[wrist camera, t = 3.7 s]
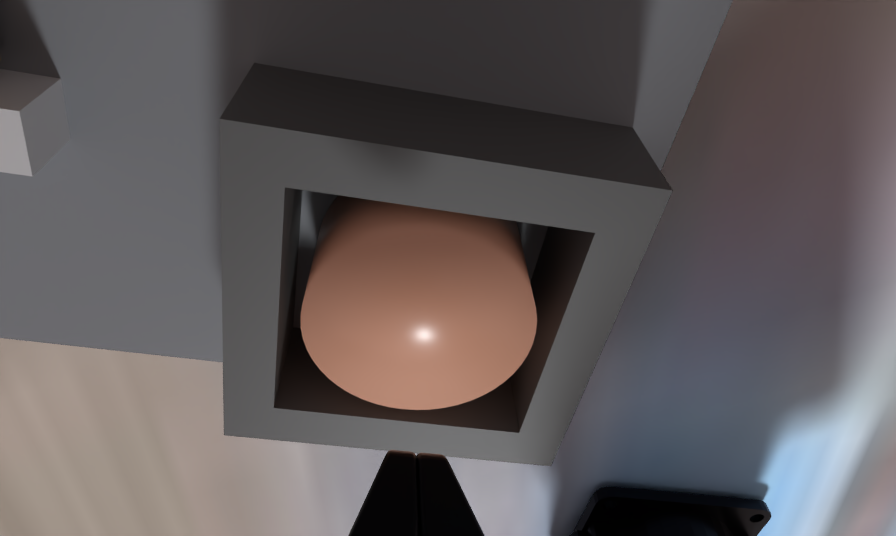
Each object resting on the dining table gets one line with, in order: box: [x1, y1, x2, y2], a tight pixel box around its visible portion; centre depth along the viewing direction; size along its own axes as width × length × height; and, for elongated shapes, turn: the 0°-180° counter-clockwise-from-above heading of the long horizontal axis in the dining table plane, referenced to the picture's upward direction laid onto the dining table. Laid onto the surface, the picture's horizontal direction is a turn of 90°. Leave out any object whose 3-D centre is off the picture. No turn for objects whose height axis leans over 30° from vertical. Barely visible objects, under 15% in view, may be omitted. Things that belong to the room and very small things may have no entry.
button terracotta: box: [301, 195, 537, 410], centre depth 13 cm, size 4×4×2 cm
